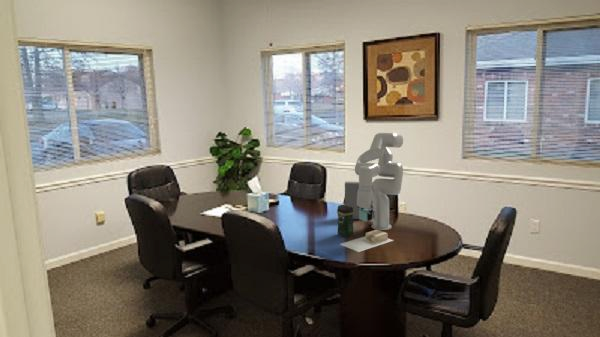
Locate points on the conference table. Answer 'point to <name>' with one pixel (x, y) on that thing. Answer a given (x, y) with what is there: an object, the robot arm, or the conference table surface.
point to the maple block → (376, 236)
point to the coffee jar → (345, 221)
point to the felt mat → (362, 244)
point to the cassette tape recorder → (352, 197)
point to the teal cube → (364, 214)
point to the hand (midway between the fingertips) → (366, 218)
